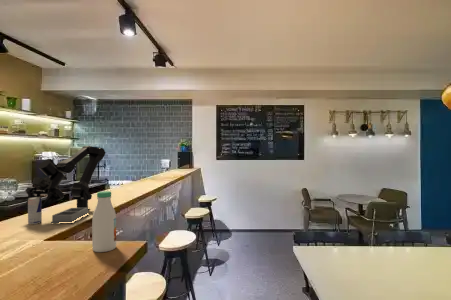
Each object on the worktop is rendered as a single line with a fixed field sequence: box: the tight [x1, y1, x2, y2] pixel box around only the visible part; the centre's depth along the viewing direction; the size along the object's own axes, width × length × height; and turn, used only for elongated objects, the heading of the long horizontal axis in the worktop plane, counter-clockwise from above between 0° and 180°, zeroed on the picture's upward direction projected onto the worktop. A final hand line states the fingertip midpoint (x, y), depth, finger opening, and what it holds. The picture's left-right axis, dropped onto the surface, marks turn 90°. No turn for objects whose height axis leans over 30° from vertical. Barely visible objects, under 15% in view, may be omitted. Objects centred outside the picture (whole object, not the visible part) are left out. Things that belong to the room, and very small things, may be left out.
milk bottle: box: [91, 190, 117, 253], centre depth 100 cm, size 8×8×20 cm
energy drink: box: [27, 196, 43, 225], centre depth 135 cm, size 5×5×12 cm
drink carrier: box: [50, 207, 89, 224], centre depth 142 cm, size 18×10×4 cm, turn 1°
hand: (33, 207), depth 134 cm, fingers open, 9 cm apart
